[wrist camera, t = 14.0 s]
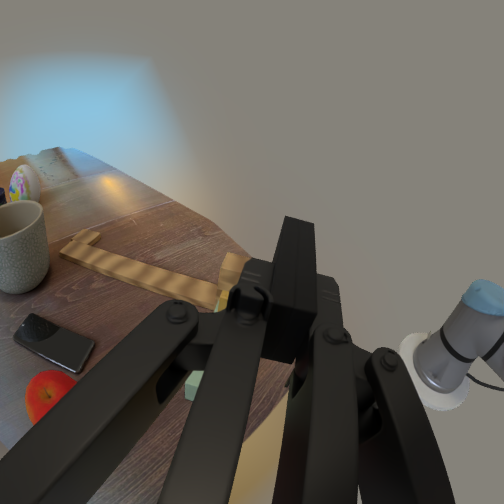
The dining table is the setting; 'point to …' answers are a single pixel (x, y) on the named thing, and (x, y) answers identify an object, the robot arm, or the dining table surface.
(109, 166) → the dining table surface
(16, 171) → the decorative egg
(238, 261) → the wooden beam with block
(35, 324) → the smartphone
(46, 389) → the apple
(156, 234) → the dining table surface
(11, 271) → the planter
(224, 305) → the bolt
